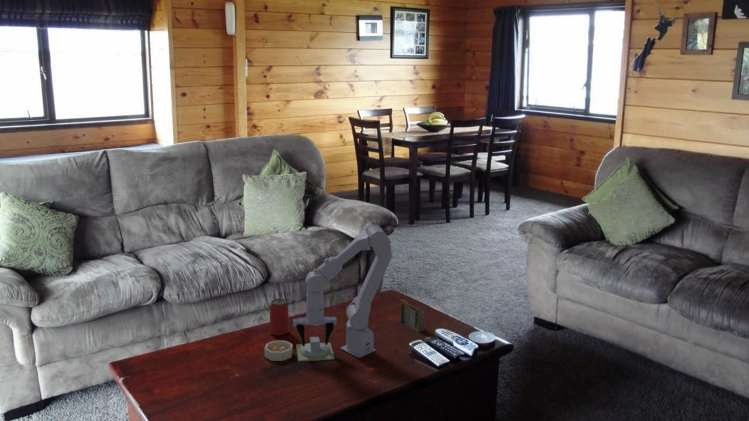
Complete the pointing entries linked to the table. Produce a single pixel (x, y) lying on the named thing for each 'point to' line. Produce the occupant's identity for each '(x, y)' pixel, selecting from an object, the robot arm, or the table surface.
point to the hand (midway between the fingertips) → (314, 344)
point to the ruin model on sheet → (412, 316)
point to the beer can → (279, 317)
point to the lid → (314, 348)
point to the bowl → (278, 350)
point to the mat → (303, 358)
